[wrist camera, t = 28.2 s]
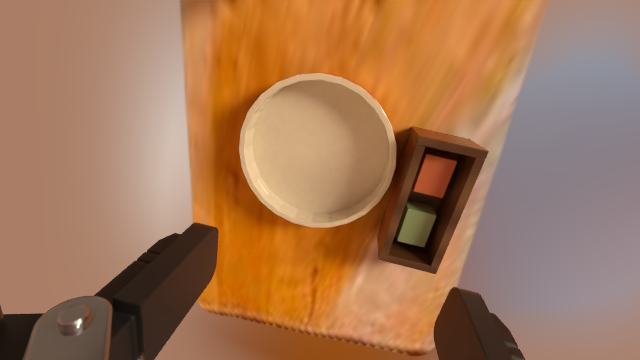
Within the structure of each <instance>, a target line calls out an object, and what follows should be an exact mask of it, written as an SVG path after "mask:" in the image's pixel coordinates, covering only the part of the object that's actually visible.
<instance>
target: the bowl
mask: <svg viewBox="0 0 640 360" xmlns="http://www.w3.org/2000/svg"><path fill="white" fill-rule="evenodd" d="M396 149H397V146H396V141H395V137H394V133H393V129H392V125H391V123H390V121H389V119H388V117H387V115H386V114H385V112H384V110H383V109H382V107H381V105H380V103H379V102H378V101H377V100H376V99H375V98H374V97H373V96H372V95H371V94H370V93H369V92H368V91H367V90H366V89H365V88H363V87H362V86H360V85H358V84H356V83H355V82H353V81H351V80H349V79H347V78H345V77H341V76H336V75H332V74H327V73H312V74H299V75H295V76H292V77H290V78H287V79H284V80H282V81H279V82H277V83H275V84H274V85H273V86H271V87H270V88H269V89H267V90H266V91H265V92H263V93H262V94H261V95H260V96H259V97H258V99H257V100H256V101H255V103H254V104H253V105H252V107H251V108H250V109H249V111H248V112H247V115H246V118H245V120H244V123H243V125H242V128H241V133H240V143H239V154H240V160H241V166H242V170H243V172H244V175H245V177H246V179H247V182H248V184H249V186H250V188H251V189H252V190H253V192H254V193H255V194H256V196H257V197H258V199H259V200H260V201H261V202H262V203H263V204H264V205H265V206H267V207H268V208H269V209H270V210H271V211H272V212H274V213H275V214H276V215H278V216H280V217H282V218H284V219H286V220H288V221H290V222H293V223H296V224H300V225H304V226H307V227H323V228H329V227H334V226H339V225H343V224H347V223H350V222H352V221H354V220H356V219H357V218H359V217H361V216H363V215H365V214H366V213H367V212H369V211H370V210H371V209H372V208H373V207H374V206H375V205H376V204H378V203H379V201H380V200H381V198H382V197H383V195H384V194H385V192H386V191H387V189H388V188H389V186H390V184H391V181H392V177H393V174H394V171H395V168H396Z"/></svg>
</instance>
